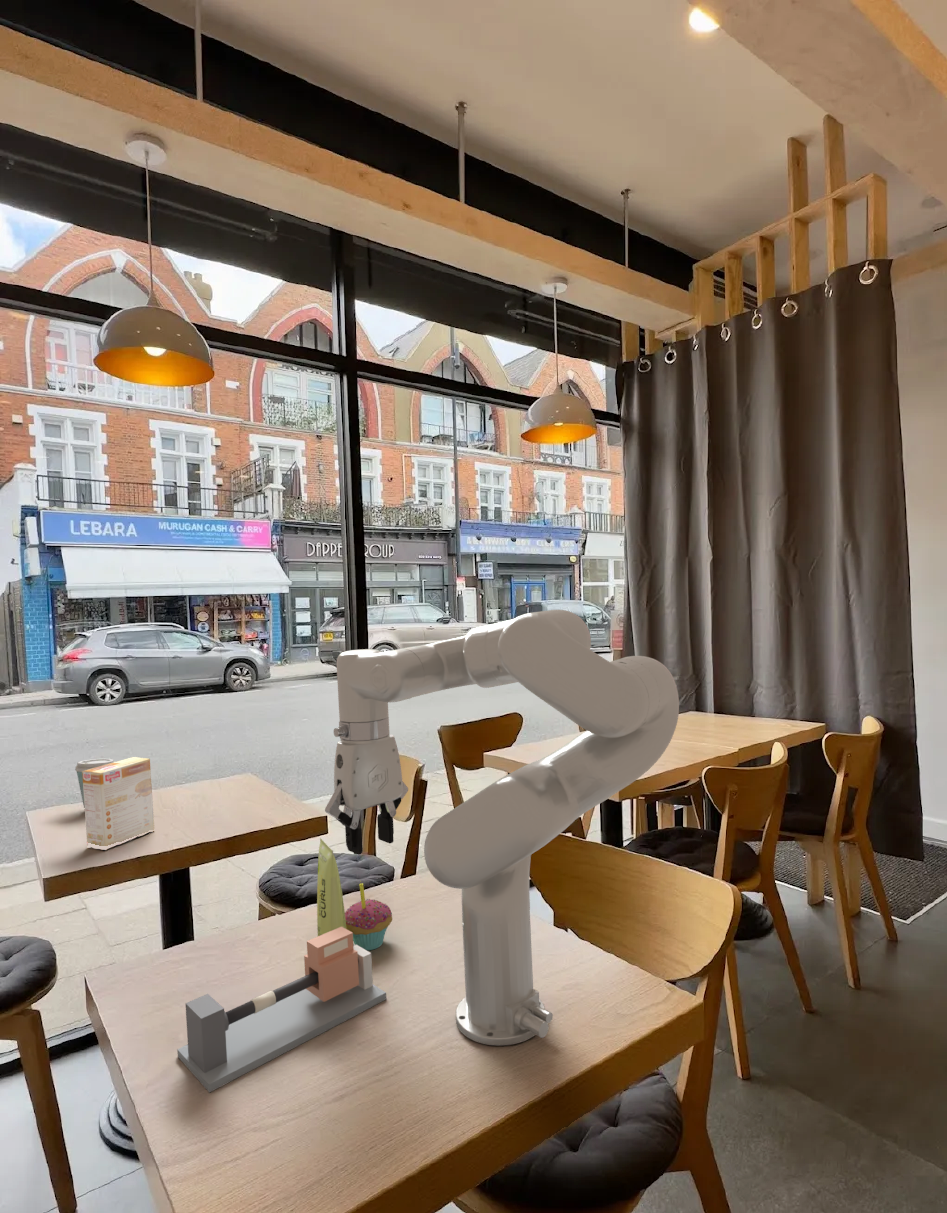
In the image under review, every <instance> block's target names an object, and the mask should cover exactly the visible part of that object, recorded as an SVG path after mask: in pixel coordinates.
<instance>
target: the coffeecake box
mask: <svg viewBox="0 0 947 1213" xmlns="http://www.w3.org/2000/svg"><path fill="white" fill-rule="evenodd" d="M151 772H152V770H151V759H150V758H149V757H148V758H147V757H146V758H145V757H139V756H132V757H128V758H125V759H121V760H118V761H115V762H114V763H110V764H106V765H103V766H99V767H96V768H92V769H89V770H85V771H82V776H83V791H84V804H85V809H84V815H85V817H84V818H85V831H86V832H85V833H86V843H87V842H88V843H91V844H95V845H99V846H108V845H111V844H114V843H116V842H122V841H124V840H126V839H129V838H132V837H134V836H137V835H139V834H142V833H145V832H148V831H149V830H154V829H155V816H154V804H153V803H154V801H153V788H152V773H151Z"/></svg>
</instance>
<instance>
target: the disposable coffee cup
mask: <svg viewBox="0 0 947 1213" xmlns="http://www.w3.org/2000/svg"><path fill="white" fill-rule="evenodd" d="M114 762H116V761H115V760H114V759H112V758H91V759H85V760H80V761H78V762H77V765H76V766H75V769H74V770H75V771H76V775H77V780H78V785H79V790H80V796H81V800H82V804H83V809H84V808H85V804H84V791H83V776H82V771H85V770H89V769H92V768H96V767H99V766H103V765H106V764H110V763H114Z"/></svg>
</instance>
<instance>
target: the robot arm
mask: <svg viewBox="0 0 947 1213" xmlns="http://www.w3.org/2000/svg"><path fill="white" fill-rule="evenodd" d="M591 639H592V638H591V632H590V630H589V628H588V625H587V624H586V622H585V621H584V620H583V619H582V618H581V617H580V616H578V614H576V613H574V612H572V611H569V610H565V609H551V610H542V611H541V610H540V611H534V612H533V611H532V612H528V613H523V614H521V615H518V616H516V617H515V618H512V619H511V618H510V619H507V620H504V621H498V622H494V623H490V624H486V625H481V626H476V627H474V628H471V629H470V630H469V631H468V632H467V634H466V635H463V636H459V637H456V638H455V637H454V638H450V639H447V640H442V641H436V642H432V643H428V644H422V645H414V646H408V647H402V648H398V649H392V650H391V649H390V650H385V651H381V650H378V649H374V648H373V649H372V648H370V649H369V648H365V649H363V648H362V649H360V648H359V649H350V650H346V651H343V652H341V653H340V654H339V655H337V659H336V679H337V694H338V695H337V697H338V698H337V699H338V710H339V711H338V716H339V721H338V726H337V727H336V728H335V727H334V729H333V735H334V737H335V738H338V737H339V739H340V741H339V740H338V741H337V744H336V749H335V755H334V767H333V793H332V796H331V797H330V799H329V801H328V802H327V804H326V806H325V807H324V808H325V809H324V812H325V813H326V814H328V815H329V816H332V817H333V818H334V819H336V821H338V822H339V823H341V826H344V829H345V832H344V833H345V846H346V848H347V850H348V852H351V853H353V854H356V855H361V854H362V853H363V834H362V832H363V831H362V828H361V827H359V821H360V817H361V812H362V810H365V809H369V808H372V807H373V808H374V807H376V806H377V807H378V810H379V811H380V813H377V818H376V820H377V837H378V840H380V841H382V842H384V843H387V844H389V845H390V844H393V843H394V831H395V830H394V818H395V817H396V815H397V810H398V808H399V806H400V804H401V802H402V800H403V799H404V797H405V796H406V795H407V793H408V791H409V787H408V786H407V785H406V783H405V782H404V781H403V772H402V765H401V759H400V754H399V749H398V745H397V742H396V738H395V735H393V734H390V719H389V718H390V717H389V703H397V702H402V701H406V700H408V699H409V700H410V699H412V698H416V697H420V696H422V695H423V696H424V695H428V694H431V693H432V694H433V693H436V692H440V691H445V690H449V689H454V688H460V687H465V686H472V685H477V686H479V687H480V688H484V689H487V688H488V689H489V688H494V687H495V688H496V687H500V686H505V685H509V684H511V685H512V684H516V683H518V684H520V685H522V686H523V687H524V688H525V689H526V690H528V691H529V692H530V693H532V694H533V695H535V696H536V697H537V698H538V699H540V700H542V701H543V702H544V703H545V704H547V705H549V706H550V707H552V708H553V709H554V710H555V711H557V712H558V713H560V714H562V715H563V716H565V717H566V718H567V719H569V720H570V721H572V722H573V723H574V724H576V725H577V726H579V727H581V729H583V730H585V731H583V732H582V733H581V734H579V735H577V736H576V737H575V738H573V739H572V740H571V741H569V742H567V743H566V744H564V745H563V746H561V747H559V748H558V749H557V750H555V751H554V752H551V753H550V754H548V755H546V756H544V757H542V758H540V759H538V760H535V761H533V762H531V763H528V764H525V765H522V766H521V767H520V768H517V769H516V770H514V771H512V772H510V773H508V774H507V775H504V776H503V777H500V778H499V779H497V780H496V781H494V782H492V783H491V784H490V785H488V786H486V787H485V788H483V789H482V790H480V791H479V792H477V793H476V794H474V795H473V796H471V797H470V798H468V799H467V800H465V801H464V802H461V803H460V804H459V805H458V806H456V807H455V808H453V809H452V810H450V811H448V812H446V814H443V815H442V816H441V817H438V819H437V820H435V822H434V823H432V825H431V826H430V828H429V830H428V832H427V834H426V836H425V840H424V844H423V846H424V848H423V856H424V860H425V864H426V867H427V870H428V871H429V873H430V874H431V876H432V877H433V878H435V880H436V881H438V882H439V883H440V884H442V885H444V886H446V887H448V888H451V889H456V890H461V919H462V920H461V923H462V924H461V925H462V939H463V941H462V942H463V962H464V963H463V964H464V984H465V997H463V999H461V1000H460V1002H459V1003H458V1005H457V1006H456V1009H455V1022H456V1023H455V1024H456V1027H457V1028H458V1029H459V1030H458V1031H460V1032H461V1033H462V1034H463V1035H464V1036H465V1037H467V1038H468V1039H470V1040H472V1041H474V1042H476V1043H479V1044H482V1045H489V1046H496V1047H497V1046H498V1047H499V1046H501V1047H502V1046H510V1045H515V1044H516V1045H517V1044H520V1043H522V1042H525V1041H528V1040H530V1039H532V1038H533V1037H534V1036H538V1037H539V1038H542V1039H543V1038H545V1037H546V1036H547V1035H548V1032H549V1024H550V1023H551V1022H552V1020H553V1016H554V1015H553V1013H552V1012H551V1011H549V1010H547V1009H546V1008H545V1004H544V1003H543V1001H542V1000H541V999H540V991H538V990H536V989H535V988H534V976H533V975H534V974H533V953H532V952H533V951H532V933H531V931H532V930H531V928H532V927H531V912H530V911H531V902H530V901H531V899H530V898H531V897H530V893H531V892H530V872H531V871H530V868H531V857H532V854H534V853H535V852H537V851H539V850H540V849H541V848H543V847H545V846H546V845H547V844H549V843H550V842H551V841H553V840H554V839H555V838H557V837H558V836H559V835H560V834H562V833H563V832H564V831H565V830H566V829H567V828H568V827H569V826H571V825H572V824H573V823H574V822H575V820H578V819H579V817H581V816H582V815H584V814H585V813H587V812H589V811H590V810H592V809H593V808H595V807H596V806H598V805H600V804H601V803H603V802H605V801H606V800H608V799H610V798H611V797H612V796H614V795H615V794H617V793H619V792H621V791H622V790H623V789H625V788H626V787H628V786H630V785H631V784H633V783H634V782H635V781H637V780H638V779H639V778H641V777H642V776H643V775H644V774H646V773H647V772H648V771H649V770H650V769H651V768H653V766H654V765H655V764H656V763H657V762H658V761H659V760H660V758H661V757H662V755H663V754H664V753H665V751H666V750H667V748H668V747H669V745H670V744H671V741H672V739H673V737H674V734H675V731H676V729H677V725H678V722H679V721H678V719H679V712H680V700H679V698H680V697H679V692H678V691H679V690H678V687H677V684H676V680H675V679H674V676H673V675H672V673H671V672H670V670H669V669H668V668H667V667H666V665H664V664H663V663H662V662H660V661H659V660H657V659H655V658H652V657H649V656H644V655H631V656H630V655H629V656H625V657H622V658H619V659H618V658H617V659H615V660H612V661H609V660H607V659H606V658H605V657H602V656H601V655H600V654H597V653H596V652H595V651H593V650H591V646H592V640H591ZM340 806H342V807H343V810H341V809H340Z"/></svg>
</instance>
